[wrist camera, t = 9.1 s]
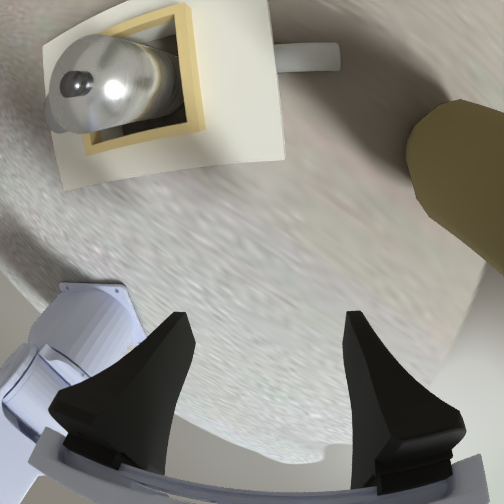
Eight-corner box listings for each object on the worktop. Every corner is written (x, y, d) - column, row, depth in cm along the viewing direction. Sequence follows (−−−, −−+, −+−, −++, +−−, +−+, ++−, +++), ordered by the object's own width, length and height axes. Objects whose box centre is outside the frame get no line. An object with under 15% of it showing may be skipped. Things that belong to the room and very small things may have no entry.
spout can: (133, 125, 18) (44, 151, 10) (123, 65, 16) (30, 61, 8) (195, 108, 17) (122, 119, 9) (184, 44, 15) (108, 12, 7)
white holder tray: (85, 180, 20) (54, 197, 17) (65, 47, 15) (31, 46, 11) (340, 150, 17) (353, 162, 14) (321, -18, 11) (328, -43, 8)
